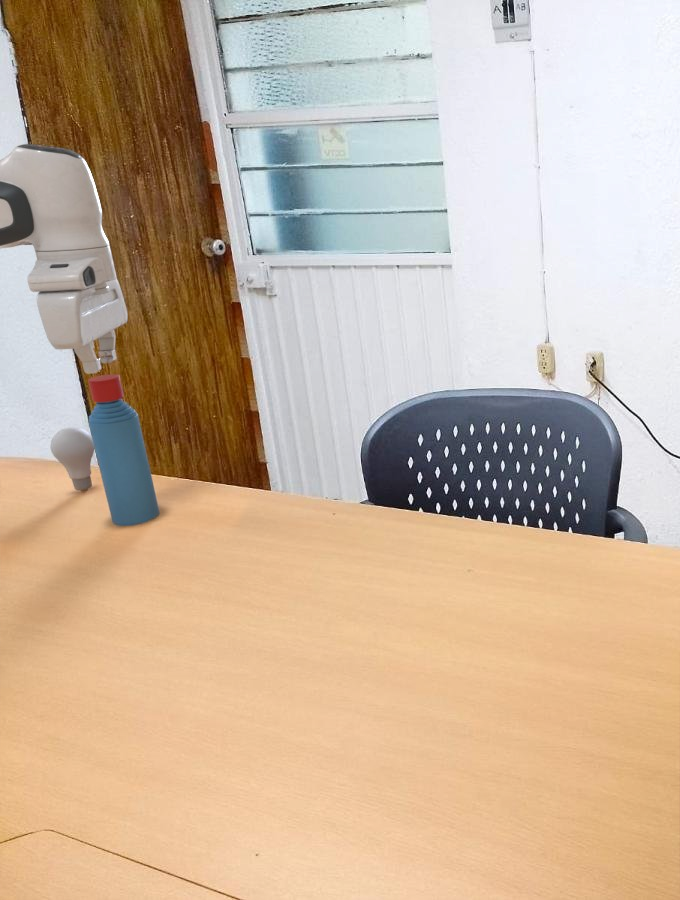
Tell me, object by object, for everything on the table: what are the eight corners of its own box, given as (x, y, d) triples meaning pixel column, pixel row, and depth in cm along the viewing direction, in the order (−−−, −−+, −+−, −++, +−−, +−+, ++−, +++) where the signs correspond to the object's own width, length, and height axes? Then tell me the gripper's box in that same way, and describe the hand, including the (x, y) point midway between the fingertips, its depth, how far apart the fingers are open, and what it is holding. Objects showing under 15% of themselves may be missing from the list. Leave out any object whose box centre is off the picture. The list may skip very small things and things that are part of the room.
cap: (88, 403, 118) (83, 382, 117) (98, 395, 122) (93, 375, 121) (118, 401, 119) (114, 380, 118) (127, 393, 122) (123, 373, 121)
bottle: (106, 528, 123) (71, 388, 116) (120, 511, 129) (88, 377, 122) (152, 523, 124) (121, 384, 117) (164, 507, 130) (135, 374, 123)
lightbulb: (54, 496, 135) (36, 433, 132) (84, 483, 141) (68, 421, 137) (84, 499, 134) (68, 435, 130) (114, 485, 140) (99, 423, 136)
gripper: (81, 262, 123) (103, 353, 128) (20, 280, 104) (48, 386, 109) (127, 259, 124) (147, 350, 129) (75, 277, 105) (100, 382, 110)
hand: (101, 367), depth 119 cm, fingers open, 5 cm apart
